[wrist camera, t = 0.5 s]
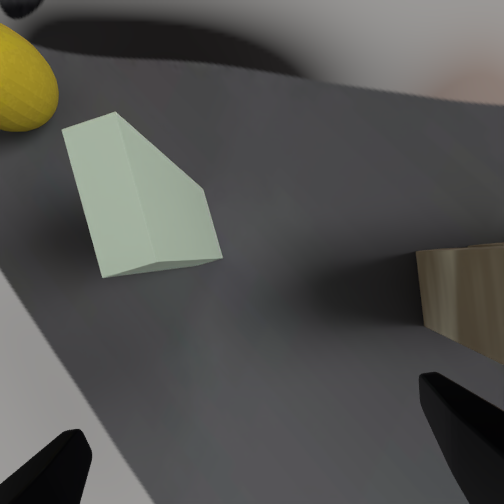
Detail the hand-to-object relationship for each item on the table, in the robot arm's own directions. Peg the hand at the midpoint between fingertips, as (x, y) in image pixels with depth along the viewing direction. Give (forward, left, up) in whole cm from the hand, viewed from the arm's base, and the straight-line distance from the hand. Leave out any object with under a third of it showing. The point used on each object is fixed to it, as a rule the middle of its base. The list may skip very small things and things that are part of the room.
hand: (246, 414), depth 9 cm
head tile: (+6, +4, -14) cm, 15 cm away
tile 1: (+1, -11, -14) cm, 17 cm away
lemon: (+16, +14, -14) cm, 25 cm away
